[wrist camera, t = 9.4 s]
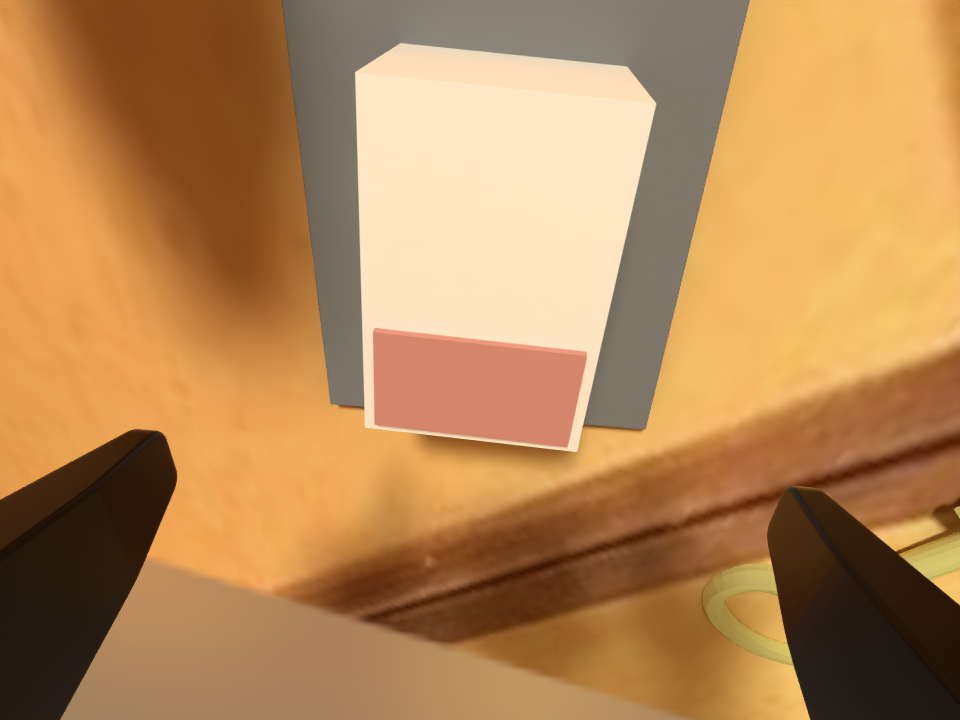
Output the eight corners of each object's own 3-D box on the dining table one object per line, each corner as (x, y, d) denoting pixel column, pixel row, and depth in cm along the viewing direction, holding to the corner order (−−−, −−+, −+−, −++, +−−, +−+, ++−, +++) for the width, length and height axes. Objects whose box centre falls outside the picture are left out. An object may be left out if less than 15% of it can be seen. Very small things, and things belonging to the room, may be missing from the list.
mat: (642, 418, 22) (645, 429, 21) (335, 393, 22) (330, 403, 22) (757, -64, 14) (765, -65, 13) (280, -85, 14) (271, -87, 14)
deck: (627, 66, 15) (657, 106, 11) (569, 357, 20) (577, 457, 16) (400, 43, 15) (352, 73, 11) (397, 338, 20) (363, 432, 16)
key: (1020, 491, 23) (1061, 536, 21) (798, 655, 29) (815, 701, 28) (859, 422, 22) (887, 464, 20) (666, 609, 28) (674, 653, 26)
